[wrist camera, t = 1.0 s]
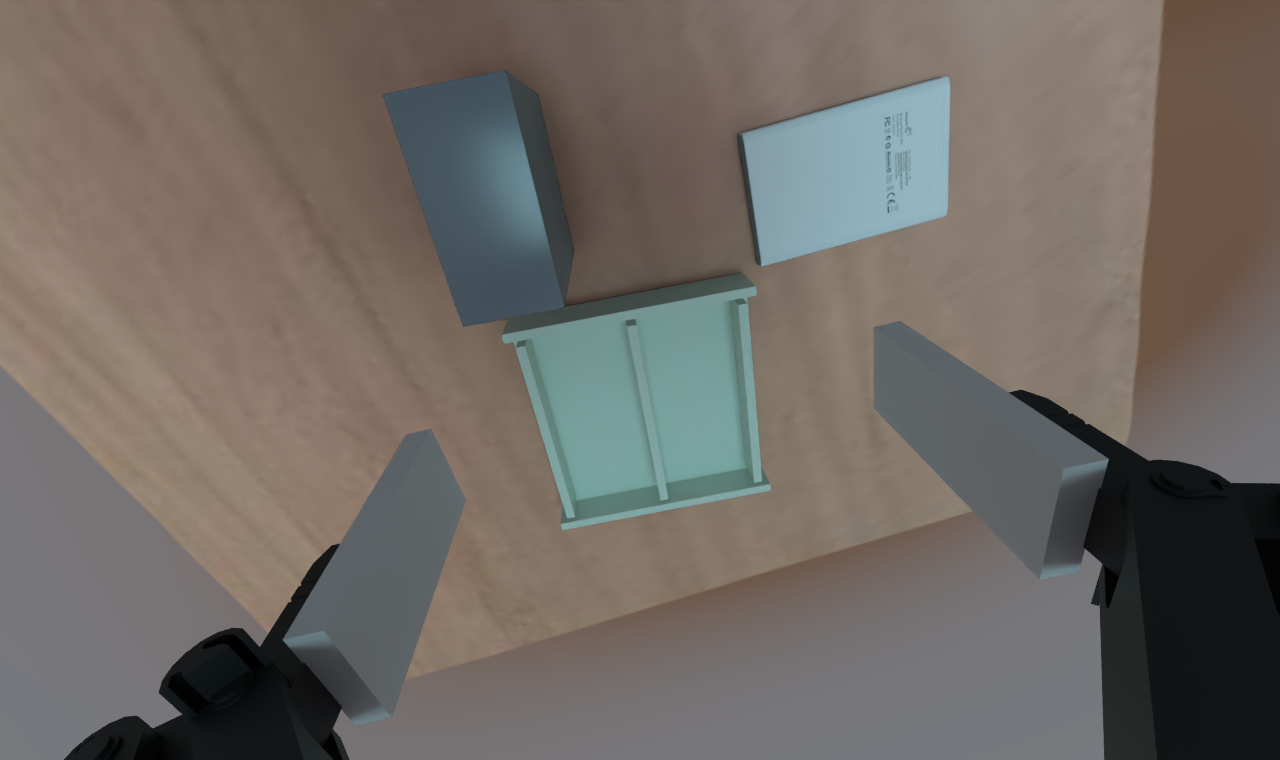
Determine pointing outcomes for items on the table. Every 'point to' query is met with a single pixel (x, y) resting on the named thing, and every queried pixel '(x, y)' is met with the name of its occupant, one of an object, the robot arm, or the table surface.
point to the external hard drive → (848, 171)
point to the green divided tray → (645, 398)
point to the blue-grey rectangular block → (487, 193)
